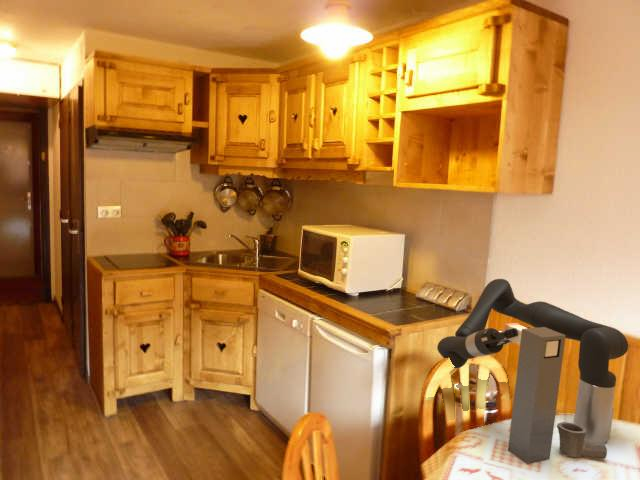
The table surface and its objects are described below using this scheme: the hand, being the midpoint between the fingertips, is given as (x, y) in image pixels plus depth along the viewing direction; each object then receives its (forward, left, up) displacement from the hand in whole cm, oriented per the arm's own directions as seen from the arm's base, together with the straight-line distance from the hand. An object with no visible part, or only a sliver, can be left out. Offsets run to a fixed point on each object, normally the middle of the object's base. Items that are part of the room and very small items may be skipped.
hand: (523, 331), depth 138 cm
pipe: (-14, +11, -33) cm, 38 cm away
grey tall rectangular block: (0, +7, -33) cm, 33 cm away
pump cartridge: (0, +3, -4) cm, 4 cm away
